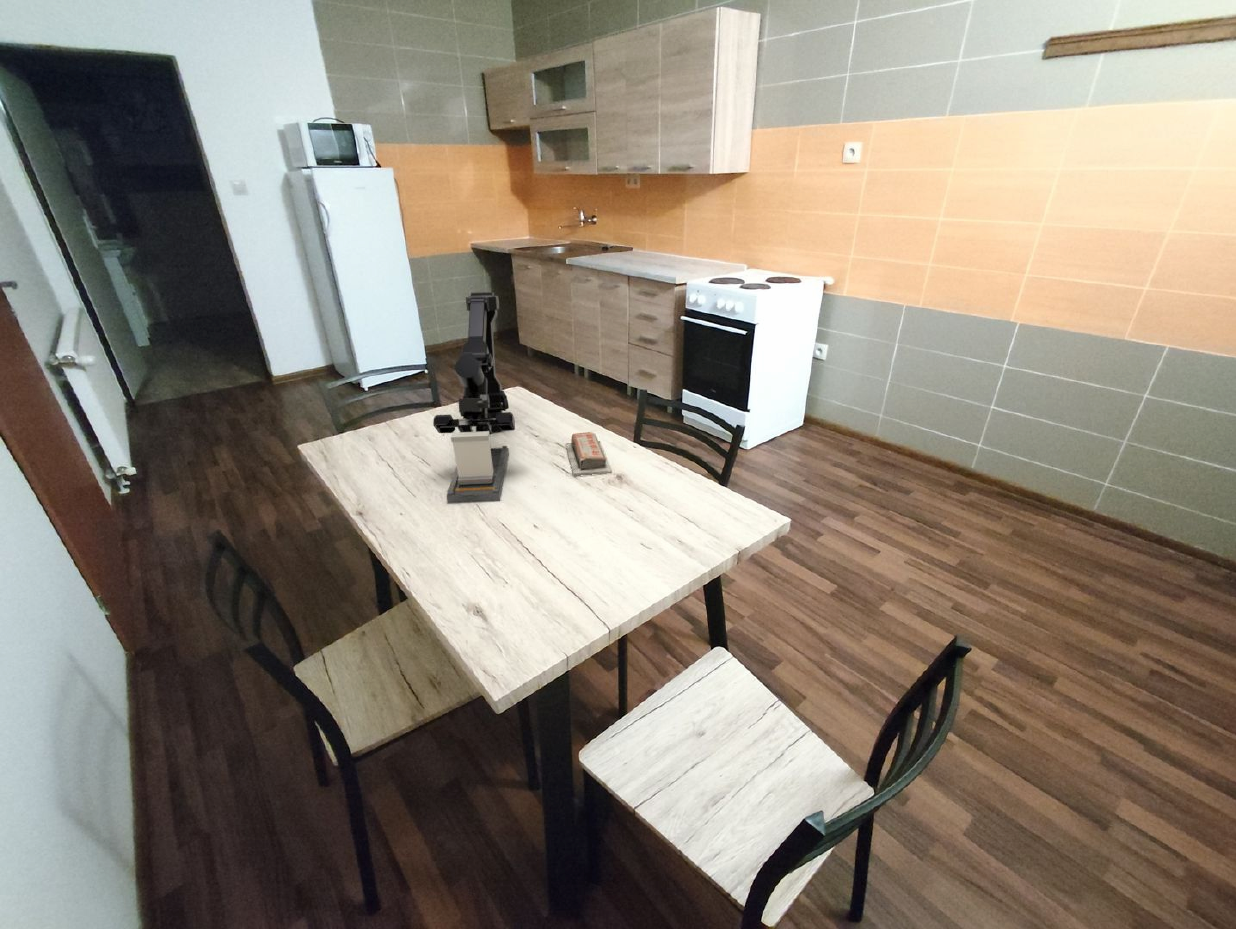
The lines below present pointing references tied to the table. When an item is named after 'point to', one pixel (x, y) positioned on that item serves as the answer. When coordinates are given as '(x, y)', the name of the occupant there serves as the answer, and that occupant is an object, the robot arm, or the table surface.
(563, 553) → the table surface
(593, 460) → the packaged product
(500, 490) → the tray
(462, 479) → the fader paddle
